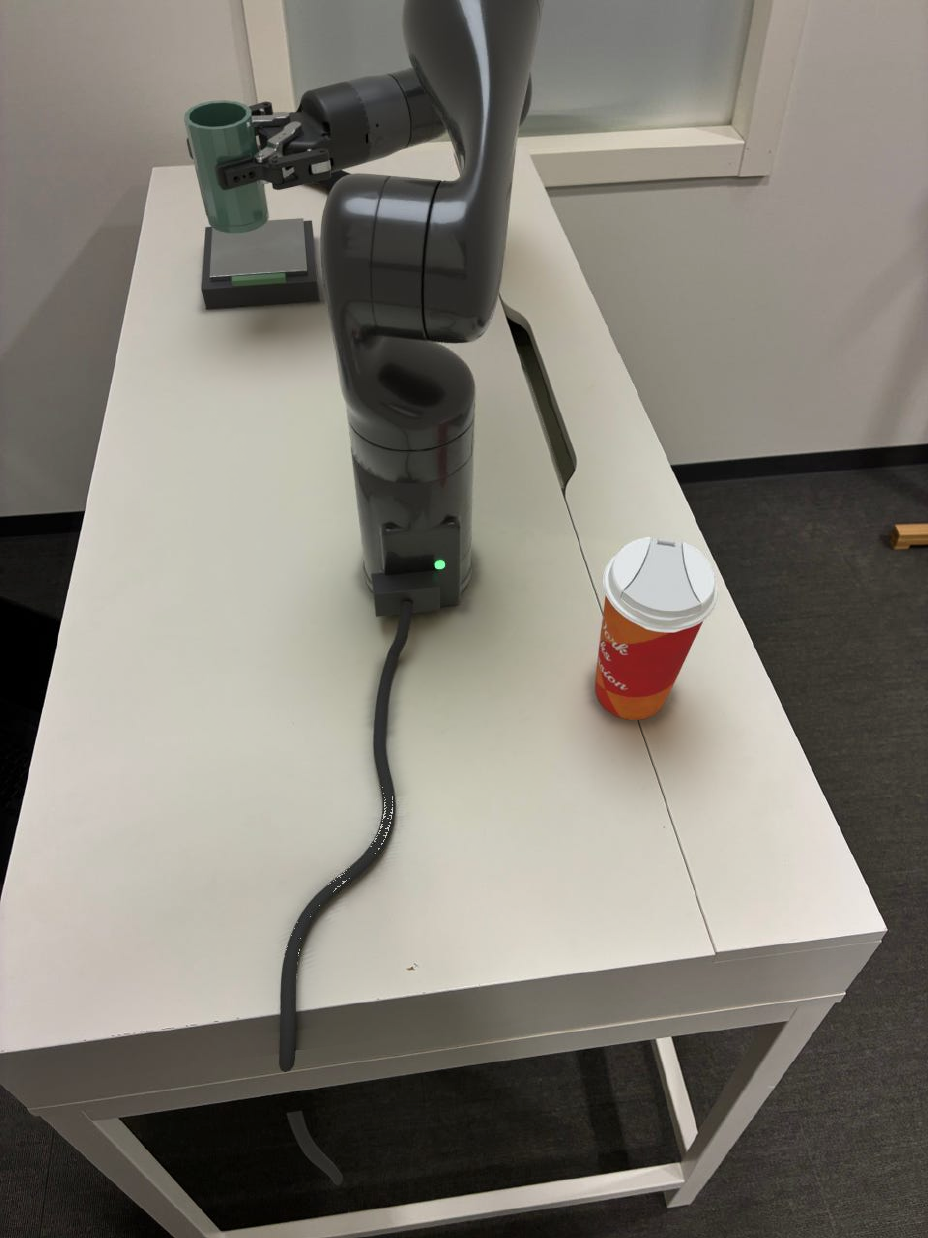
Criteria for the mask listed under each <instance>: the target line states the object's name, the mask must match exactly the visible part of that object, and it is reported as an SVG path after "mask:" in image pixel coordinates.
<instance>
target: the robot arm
mask: <svg viewBox="0 0 928 1238" xmlns="http://www.w3.org/2000/svg"><path fill="white" fill-rule="evenodd" d="M544 3H545V0H403V4H402V8H401V9H402V11H401V32H402V37H403V43H404V46H405V50H406V54H407V57H408V60H409V62H410V65H411V67H408V68H404V69H401V70H396V71H392V72H388V73H383V74H378V75H365V76H361V77H357V78H352V79H349V80H344V81H340V82H336V83H333V84H329V85H325V86H321V87H317V88H312V89H310V90H306V91H305V92H304V93H303V94H302V96H301V97H300V101H299V106H298V108H297V109H296V111H295V112H293V111H291V112H289V111H276V112H274V110H273V105H272V104H273V103H272V102H270V101H262V102H259V103H255V104H252V105H249V106H248V107H249V108H250V109H251V111H252V117H253V123H254V129H255V134H256V137H258V141H259V144H258V143H257V146H258V153H256V154H255V155H254V158H255V159H254V160H253V158H252V157H251V156H250V155H249V156H245V157H242V158H238V159H234V160H230V161H227V162H223V163H219V164H217V165H216V166H215V174H216V178H217V183H218V185H219V186H220V187H221V188H222V189H223V190H229V189H232V188H236V187H239V186H243V185H246V184H250V183H253V182H257V181H259V183H261V184H264V185H267V184H271V186H272V189H273V190H275V191H281V190H287V189H291V188H294V187H299V186H304V185H308V184H314V183H313V182H317V181H322V180H326V179H329V178H331V173H333V172H336V171H340V170H343V171H344V170H346V169H349V168H353V167H356V166H357V167H358V166H359V165H364V164H366V163H370V162H373V161H377V160H380V159H383V158H386V157H389V156H391V155H393V154H395V153H397V152H400V151H402V150H406V149H409V148H413V147H416V146H420V145H423V144H426V143H429V142H433V141H436V140H438V139H441V138H443V136H445V135H446V134H448V137H449V140H450V143H451V145H452V148H453V150H454V153H455V157H456V159H457V163H458V166H459V170H460V175H459V177H458V178H456V179H455V180H441V179H432V178H431V179H430V178H421V177H420V178H419V177H409V176H399V175H386V174H376V173H375V174H373V173H361V172H360V173H350V174H349V175H346V176H344V177H342V178H341V179H339V180H338V181H337V182H336V183H335V184H334V186H333V187H332V189H331V191H330V192H328V195H327V197H326V200H325V203H324V207H323V211H322V215H321V222H320V236H319V254H320V268H321V278H322V287H323V292H324V299H325V304H326V305H325V306H326V309H327V314H328V319H329V325H330V326H329V327H330V330H331V335H332V341H333V346H334V351H335V358H336V363H337V370H338V371H337V372H338V378H339V385H340V391H341V395H342V397H343V400H344V402H345V408H346V409H345V410H346V417H347V427H348V436H349V443H350V453H351V463H352V471H353V480H354V489H355V497H356V504H357V505H356V507H357V515H358V524H359V532H360V543H361V547H362V557H363V562H362V563H363V565H362V566H363V567H362V568H363V574H364V579H365V581H366V584H367V586H368V588H369V589H370V591H372V594H373V595H372V596H373V603H374V613H375V617H376V618H380V617H389V616H390V617H391V616H399V617H398V624H397V628H396V633H395V636H394V639H393V641H392V644H391V645H390V647H389V649H388V651H387V655H386V658H385V661H384V665H383V668H382V672H381V676H380V678H379V684H378V689H377V695H376V699H375V710H374V721H373V736H372V738H373V741H372V747H373V748H372V749H373V758H374V763H375V768H376V769H375V770H376V773H377V778H378V783H379V787H380V793H381V798H382V799H381V803H382V804H381V805H382V809H381V818H380V822H379V825H378V829H377V832H376V834H375V836H374V838H373V840H372V841H371V843H370V844H369V846H368V848H367V849H366V850H365V851H364V853H363V854H362V855H360V857H359V858H357V859H356V860H355V862H353V863H352V864H351V865H350V866H349V867H350V868H349V867H347V868H346V869H345V870H344V871H345V872H344V871H341V873H339V875H341V874H343V875H341V876H340V877H341V878H340V877H338V876H339V875H337V876H336V877H335V878H333V879H332V880H331V881H329V883H331V884H329V883H327V884H325V886H324V887H322V889H321V890H319V892H316V894H315V895H314V896H313V898H311V900H310V901H309V902H308V903H307V905H306V906H305V908H303V910H302V912H301V913H300V914H299V916H298V919H297V920H296V922H295V924H294V926H293V928H292V930H291V933H290V936H289V939H288V941H287V945H286V948H285V952H284V956H285V957H284V956H283V960H282V967H281V973H280V974H281V976H280V992H279V993H280V996H279V997H280V998H279V1000H280V1001H279V1003H280V1004H279V1011H280V1013H279V1015H280V1016H279V1018H280V1020H279V1021H280V1022H279V1023H280V1024H279V1029H280V1030H279V1054H278V1067H279V1069H280V1071H282V1072H283V1073H287V1072H290V1071H291V1070H292V1069H293V1068H294V1066H295V1063H296V1062H295V1061H296V1048H297V1047H296V1046H297V979H296V976H297V977H298V968H299V964H298V965H297V962H298V963H299V961H300V956H301V953H302V949H303V947H304V942H305V941H306V937H307V934H308V932H309V930H310V928H311V926H312V925H313V923H314V921H315V920H316V918H317V917H318V916H319V914H320V912H321V911H322V910H323V909H324V908H325V907H326V906H327V905H328V904H329V902H331V901H332V900H333V899H334V898H335V897H336V896H338V895H339V894H340V893H341V892H342V891H343V890H345V889H346V888H347V887H348V886H350V885H351V884H352V883H354V882H355V881H356V880H357V879H358V878H360V877H361V876H362V875H363V874H364V873H365V872H367V870H368V869H370V867H371V866H373V865H374V864H375V862H376V861H377V860H378V858H380V856H381V854H383V852H384V850H385V848H386V847H387V845H388V842H389V840H390V837H391V835H392V833H393V828H394V825H395V820H396V809H397V805H396V793H395V788H394V782H393V778H392V774H391V769H390V765H389V760H388V754H387V728H388V727H387V724H388V711H389V701H390V694H391V689H392V684H393V679H394V676H395V672H396V668H397V666H398V661H399V658H400V656H401V654H402V652H403V650H404V648H405V647H406V645H407V644H406V643H407V640H408V637H409V633H410V628H411V623H412V614H417V613H426V612H435V611H440V610H441V607H450V606H457V605H460V604H461V597H462V596H461V593H463V591H464V590H465V589H466V587H467V586H468V585H469V582H470V580H471V577H472V572H473V557H472V541H473V537H472V534H473V533H472V531H473V500H474V499H473V496H474V495H473V494H474V457H475V431H476V429H475V427H476V426H475V425H476V399H477V398H476V397H477V396H476V393H477V391H476V382H475V379H474V376H473V372H472V370H471V369H470V367H469V366H468V363H466V362H465V360H464V359H463V358H462V357H461V356H459V355H458V354H457V353H455V352H454V350H453V351H452V350H451V349H450V348H448V347H446V346H445V345H443V344H469V343H471V344H472V343H473V342H475V341H477V340H479V339H480V338H481V337H483V335H484V334H485V333H486V331H487V330H488V329H489V326H490V324H491V322H492V320H493V318H494V317H493V316H494V314H495V311H496V308H497V304H498V299H499V295H500V288H501V284H502V280H503V279H502V278H503V273H504V272H503V271H504V263H505V257H506V256H505V255H506V247H507V239H508V230H509V229H508V228H509V219H510V210H511V209H510V208H511V202H512V201H511V199H512V190H513V181H514V171H515V163H516V153H517V145H518V138H519V130H520V128H521V127H522V126H523V124H524V123H525V121H526V119H527V117H528V115H529V113H530V110H531V106H532V102H533V101H532V100H533V80H532V79H533V78H532V72H531V70H532V65H533V60H534V55H535V51H536V47H537V42H538V37H539V32H540V28H541V27H540V26H541V21H542V15H543V9H544ZM186 145H187V149H188V154H189V157H190V158H191V160H193V156H192V152H191V148H190V143H189V139H188V137H187V138H186ZM293 172H294V175H293V176H292V175H290V174H291V173H293ZM289 175H290V176H289ZM287 176H288V177H287ZM382 787H383V788H382ZM383 793H384V794H383ZM392 796H393V800H392ZM384 797H385V798H384ZM385 799H386V800H385ZM384 800H385V801H384ZM392 801H393V803H392ZM384 802H386V803H385V805H386V806H385V807H384ZM392 804H393V806H392ZM386 807H387V808H386ZM392 807H393V814H391V813H390V812H392V810H391V809H392ZM384 808H386V809H385V810H386V812H385V813H386V814H385V815H384V816H386V817H385V818H384V819H383V814H384V811H385V810H384ZM389 815H392V819H391V816H389ZM387 818H389V819H387ZM382 819H383V820H382ZM390 819H391V820H390ZM382 821H383V822H382ZM389 822H391V824H390V823H389ZM381 824H383V825H382V826H383V827H382V828H381V829H380V826H381ZM388 825H390V827H389V826H388ZM387 827H389V831H388V829H385V828H387ZM379 830H381V831H380V832H379ZM378 832H379V833H380V834H378ZM385 832H388V833H387V836H386V838H385V836H383V835H386V833H385ZM377 835H378V836H377ZM376 836H377V837H376ZM375 838H377V839H376V840H375ZM384 839H385V840H384ZM374 840H375V841H376V842H374ZM383 840H384V842H383ZM372 843H373V844H372ZM381 843H383V844H382V845H381ZM370 846H372V847H370ZM378 848H380V849H379V850H378ZM375 853H376V854H375ZM346 870H347V871H346ZM343 872H344V873H345V874H344V873H343ZM337 877H338V878H337ZM349 878H350V879H349ZM334 879H335V880H336V881H335V880H334ZM346 880H347V881H346ZM333 881H334V882H333ZM342 881H346V882H345V883H344V884H342V883H343V882H342ZM328 884H329V885H328ZM340 885H341V886H340ZM337 886H340V887H337ZM335 888H337V889H336V890H335ZM334 890H335V891H334ZM333 891H334V892H333ZM319 905H320V906H319ZM310 916H311V917H310ZM297 922H298V923H297ZM294 928H295V929H294ZM291 935H292V936H291ZM300 938H301V939H300ZM287 946H288V947H287ZM286 949H287V950H286ZM299 949H300V951H299ZM298 952H299V954H298ZM298 955H299V956H298ZM296 974H297V975H296ZM286 1116H287V1119H288V1122H289V1125H290V1128H291V1131H292V1133H293V1135H294V1137H295V1140H296V1142H297V1144H298V1146H299V1148H300V1149H301V1151H302V1152H303V1153H304V1155H305V1156H306V1157H307V1158H308V1159H309V1161H311V1162H312V1164H313V1165H315V1166H316V1167H318V1168H319V1169H320V1170H321V1171H322V1172H324V1173H325V1174H326V1175H327V1177H329V1178H330V1180H331V1181H332V1182H333V1184H334V1185H336V1186H339V1185H341V1184H342V1183H343V1181H344V1176H343V1174H342V1172H341V1171H340V1169H339V1168H338V1167H337V1165H336V1164H335V1163H334V1162H333V1161H332V1160H331V1159H330V1158H329V1157H328V1156H326V1154H325V1153H324V1152H323V1151H322V1150H321V1149H320V1148H319V1147H318V1146H317V1144H316V1143H315V1141H314V1140H313V1138H312V1136H311V1134H310V1132H309V1130H308V1127H307V1125H306V1122H305V1121H306V1120H305V1118H304V1115H303V1110H297V1111H291V1112H286Z"/></svg>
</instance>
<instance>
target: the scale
mask: <svg viewBox="0 0 928 1238" xmlns="http://www.w3.org/2000/svg"><path fill="white" fill-rule="evenodd" d="M314 233H315V232H314V227H313V220H312V219H311V220H304V217H300V218H284V219H283V218H282V219H268V221H267V222H266V223H265V224H264V225H263V226H261V227H260V228H258V229H255V230H253V231H249V232H245V233H224V232H220V231H217V230H215V229H214V228H212V227H211V226H205V227H204V240H203V242H204V243H203V256H202V257H203V258H202V270H201V271H202V273H201V274H202V275H201V286H200V288H201V294H202V298H203V302H204V307H205V309H206V310H210V309H211V310H212V309H213V310H214V309H225V308H226V309H227V308H239V307H240V308H241V307H253V306H254V307H255V306H266V305H267V306H268V305H281V304H294V303H295V304H297V303H311V302H320V301H321V300H320V288H319V277H318V265H317V254H316V253H317V252H316V242H315V234H314Z"/></svg>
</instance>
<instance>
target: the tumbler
mask: <svg viewBox="0 0 928 1238" xmlns="http://www.w3.org/2000/svg"><path fill="white" fill-rule="evenodd" d="M183 122H184V126H185V131H186V135H187V138H188V139H189V143H190V148H191V152H192V156H193V159H192V160H193V164H194V169H195V174H196V178H197V181H198V186H199V190H200V195H201V199H202V204H203V208H204V212H205V216H206V218H207V219H206V220H207V222H208V225H209V227H212V228H214V229H215V230H217V231H220V232H224V233H245V232H249V231H253V230H255V229H258V228H260V227H261V226H263V225H264V224H265V223H266V222H267V221H268V220H270V219H269V218H270V213H269V205H268V199H267V193H266V187H265V184H261V183H259V181H257V182H253V183H250V184H246V185H243V186H239V187H236V188H232V189H229V190H223V189H222V188H221V187H220V186H219V185H218V183H217V178H216V174H215V166H216V165H217V164H219V163H223V162H227V161H230V160H234V159H238V158H242V157H245V156H249V155H250V156H251V157H252V158H253V160H254V159H255V158H254V155H255V154H256V153H258V146H257V144H258V139H257V136H256V134H255V129H254V123H253V117H252V111H251V109H250V108H249V106H248V105H247V104H244V103H242V102H239V101H237V100H235V101H234V100H227V99H225V100H223V99H222V100H211V101H206V102H202V103H201V102H200V103H199V104H196V105H194V106H191V107H190V108H188V110H187V111H186V112H184V116H183Z"/></svg>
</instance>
